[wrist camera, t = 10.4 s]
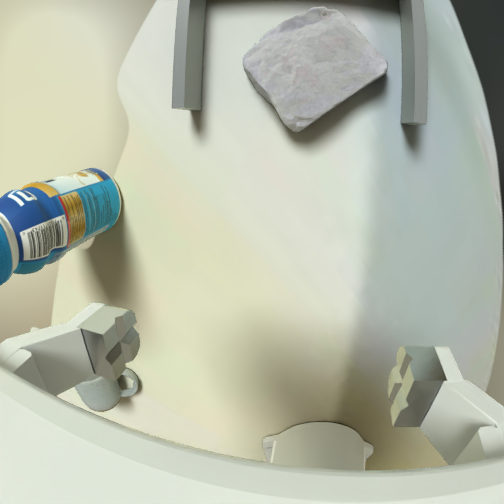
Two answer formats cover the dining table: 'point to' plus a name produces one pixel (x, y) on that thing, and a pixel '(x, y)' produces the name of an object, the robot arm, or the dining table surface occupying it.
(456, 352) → the dining table surface
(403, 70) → the box
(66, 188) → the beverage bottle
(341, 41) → the stone block
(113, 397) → the ceramic mug
